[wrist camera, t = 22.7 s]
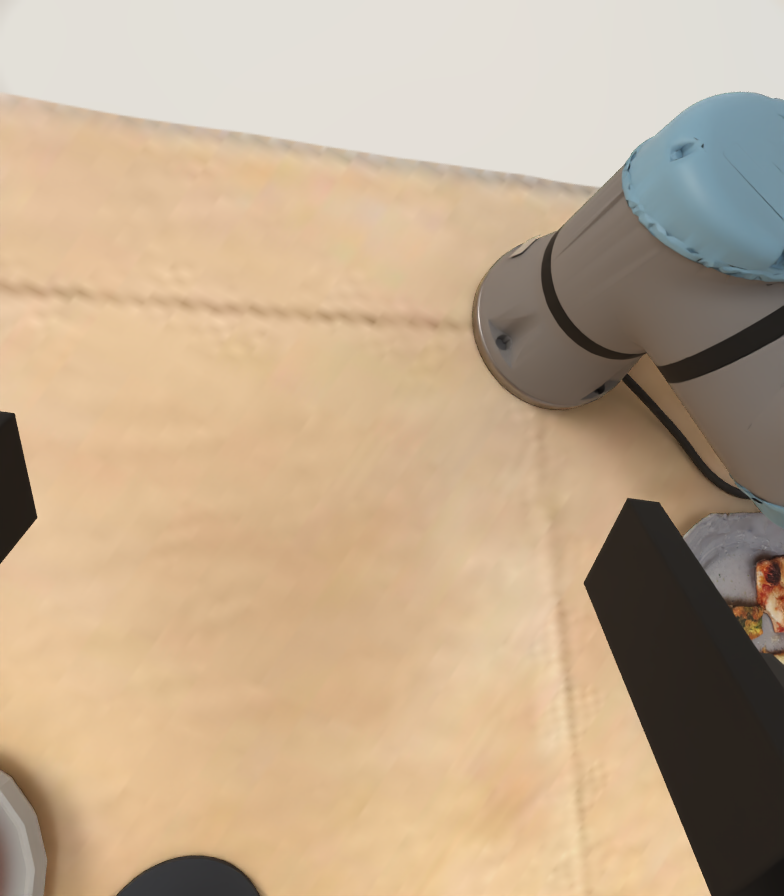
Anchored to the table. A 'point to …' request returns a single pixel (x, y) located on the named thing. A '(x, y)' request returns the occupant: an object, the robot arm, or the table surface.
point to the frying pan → (19, 843)
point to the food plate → (746, 572)
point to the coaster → (191, 879)
